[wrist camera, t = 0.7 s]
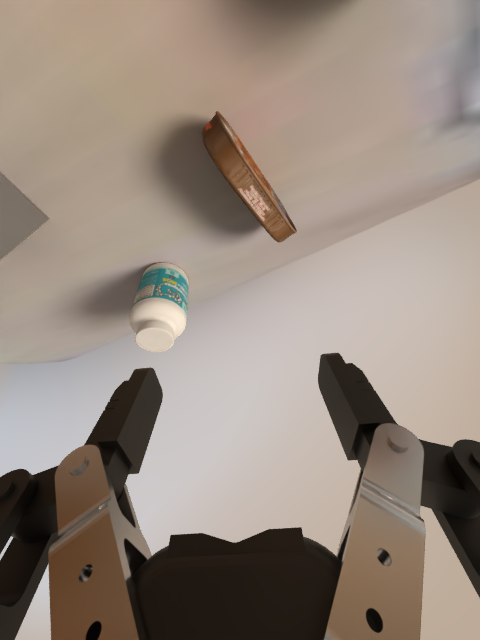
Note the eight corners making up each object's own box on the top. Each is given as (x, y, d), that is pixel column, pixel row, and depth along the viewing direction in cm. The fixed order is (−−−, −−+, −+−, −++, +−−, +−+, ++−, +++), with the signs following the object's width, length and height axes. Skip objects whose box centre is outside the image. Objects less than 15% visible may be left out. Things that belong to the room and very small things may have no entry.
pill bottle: (197, 286, 40) (196, 346, 31) (163, 303, 42) (152, 365, 33) (170, 252, 35) (159, 311, 26) (132, 273, 37) (109, 336, 28)
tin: (288, 214, 33) (307, 240, 28) (271, 228, 35) (285, 257, 29) (217, 105, 24) (223, 110, 19) (196, 130, 26) (195, 142, 20)
